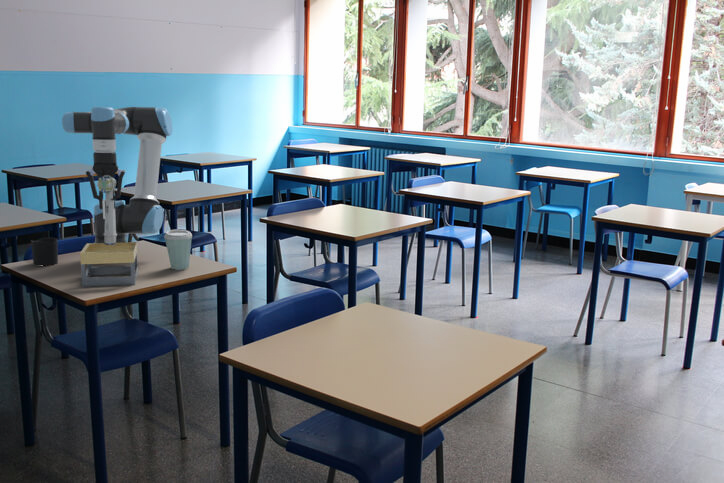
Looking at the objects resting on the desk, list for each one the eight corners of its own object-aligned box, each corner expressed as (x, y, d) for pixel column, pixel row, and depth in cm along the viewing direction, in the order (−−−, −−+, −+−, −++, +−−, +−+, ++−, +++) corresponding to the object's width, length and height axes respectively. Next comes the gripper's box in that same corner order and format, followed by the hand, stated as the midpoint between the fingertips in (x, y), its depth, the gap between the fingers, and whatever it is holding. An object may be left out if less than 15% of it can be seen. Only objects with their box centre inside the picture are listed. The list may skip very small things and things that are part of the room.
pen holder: (59, 266, 262) (57, 241, 260) (32, 268, 258) (31, 242, 256) (58, 261, 271) (56, 237, 269) (32, 263, 266) (30, 238, 264)
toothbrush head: (120, 243, 242) (121, 175, 238) (108, 246, 236) (109, 176, 231) (107, 242, 244) (108, 173, 239) (96, 245, 237) (96, 174, 233)
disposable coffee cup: (199, 268, 263) (198, 231, 260) (178, 273, 254) (176, 234, 251) (180, 264, 269) (179, 228, 266) (159, 269, 260) (157, 231, 257)
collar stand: (88, 275, 249) (86, 243, 247) (137, 273, 253) (136, 242, 251) (82, 286, 232) (80, 253, 230) (135, 284, 237) (133, 251, 235)
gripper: (81, 152, 229) (84, 220, 233) (125, 152, 233) (128, 219, 237) (83, 151, 236) (87, 217, 240) (127, 151, 240) (130, 216, 244)
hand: (108, 218), depth 239 cm, fingers closed on toothbrush head, 1 cm apart
